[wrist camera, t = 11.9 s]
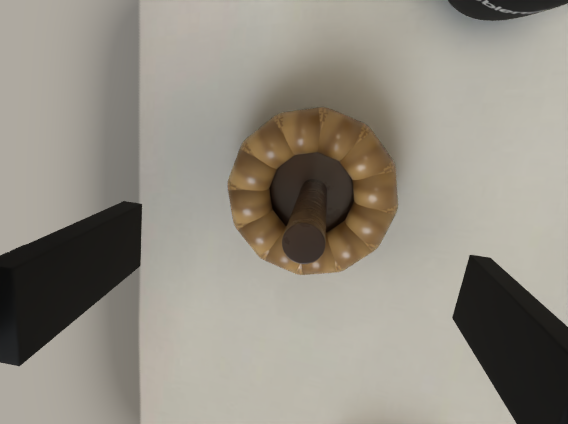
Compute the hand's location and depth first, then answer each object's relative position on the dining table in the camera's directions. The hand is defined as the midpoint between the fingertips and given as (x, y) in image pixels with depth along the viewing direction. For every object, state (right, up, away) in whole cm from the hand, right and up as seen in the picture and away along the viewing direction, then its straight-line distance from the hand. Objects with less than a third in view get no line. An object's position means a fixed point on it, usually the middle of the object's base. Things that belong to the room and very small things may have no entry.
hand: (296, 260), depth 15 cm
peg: (+2, +4, +15) cm, 15 cm away
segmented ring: (+1, +3, +12) cm, 13 cm away
